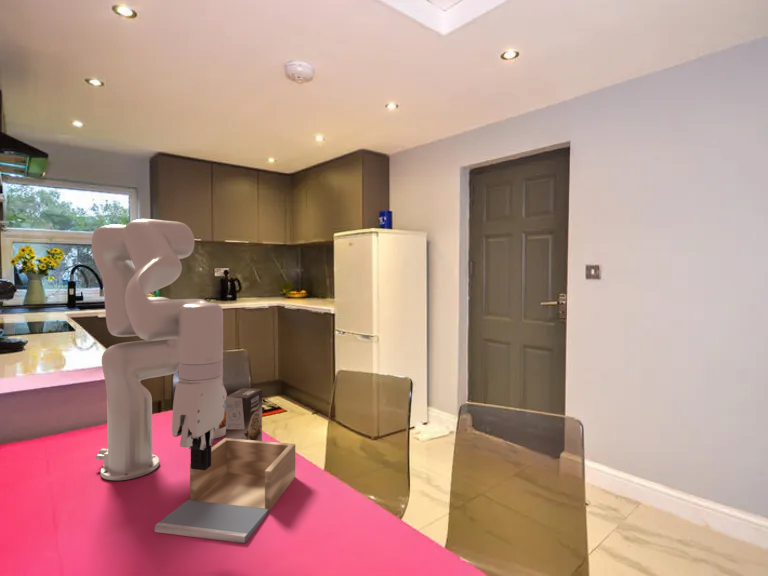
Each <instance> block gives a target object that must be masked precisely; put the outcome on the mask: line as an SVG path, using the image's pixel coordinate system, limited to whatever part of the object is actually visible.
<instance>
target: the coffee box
mask: <svg viewBox="0 0 768 576" xmlns="http://www.w3.org/2000/svg"><path fill="white" fill-rule="evenodd" d="M225 438H231V439H243V440H255V441H263V389H262V388H250V387H249V388H245V387H243V388H240V389H238V390H236V391H234V392H233V393H230V394H228V395H227V396H226V435H225Z"/></svg>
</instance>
